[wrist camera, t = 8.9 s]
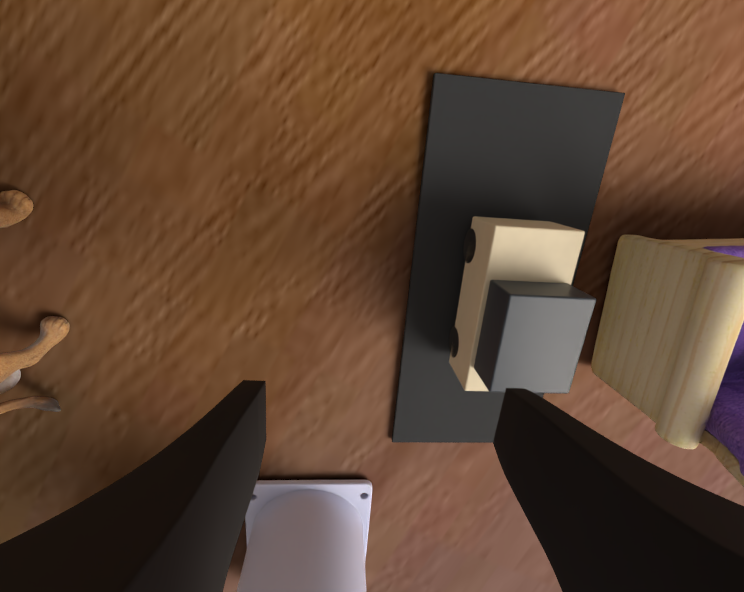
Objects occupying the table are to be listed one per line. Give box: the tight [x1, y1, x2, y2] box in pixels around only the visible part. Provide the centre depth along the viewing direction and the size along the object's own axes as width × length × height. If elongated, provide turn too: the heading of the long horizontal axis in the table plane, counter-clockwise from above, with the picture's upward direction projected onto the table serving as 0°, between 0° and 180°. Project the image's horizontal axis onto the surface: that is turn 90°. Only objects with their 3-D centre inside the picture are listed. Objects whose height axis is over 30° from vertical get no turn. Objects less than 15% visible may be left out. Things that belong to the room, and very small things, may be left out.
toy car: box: [449, 216, 596, 393], centre depth 17 cm, size 8×4×5 cm, turn 176°
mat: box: [392, 73, 625, 442], centre depth 20 cm, size 20×9×1 cm, turn 176°
